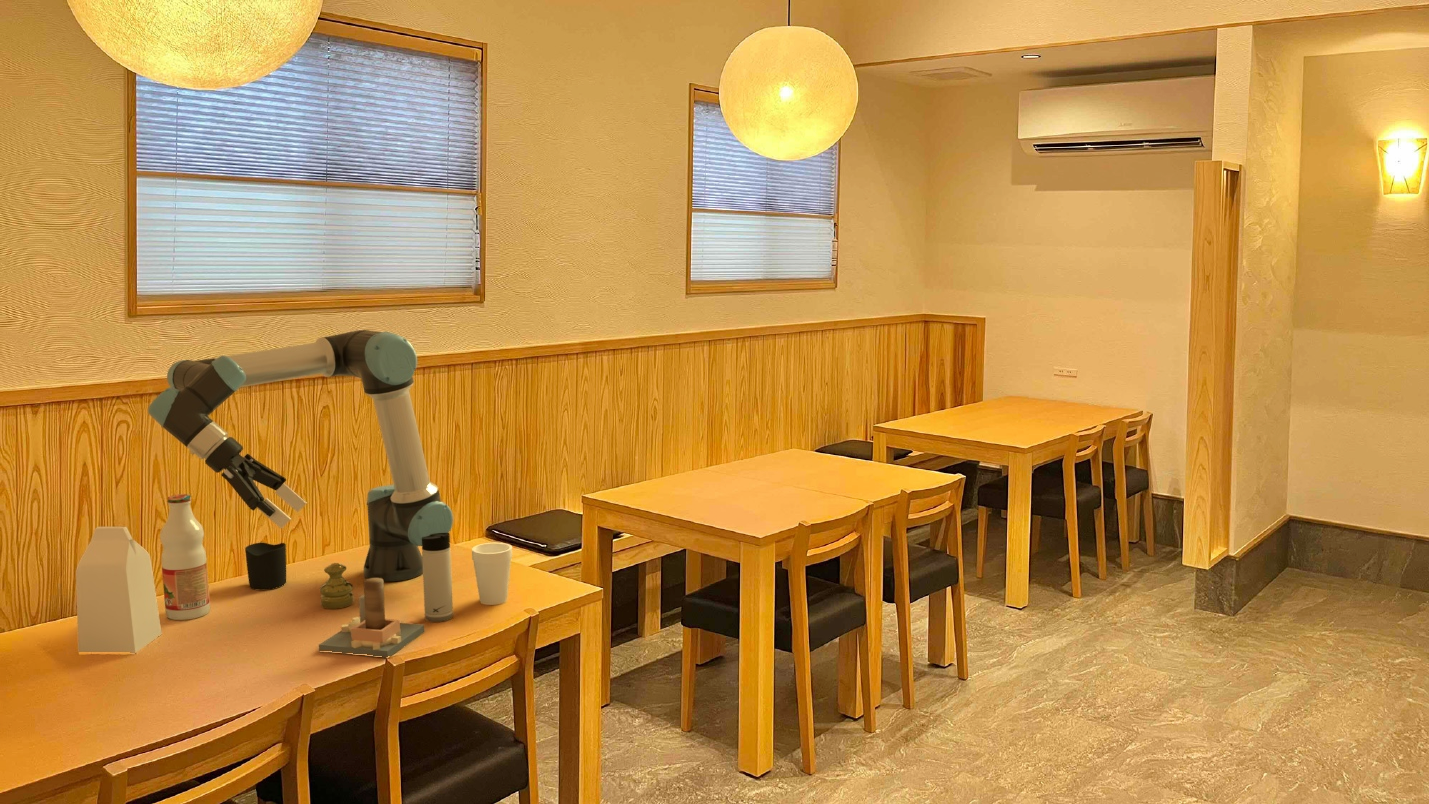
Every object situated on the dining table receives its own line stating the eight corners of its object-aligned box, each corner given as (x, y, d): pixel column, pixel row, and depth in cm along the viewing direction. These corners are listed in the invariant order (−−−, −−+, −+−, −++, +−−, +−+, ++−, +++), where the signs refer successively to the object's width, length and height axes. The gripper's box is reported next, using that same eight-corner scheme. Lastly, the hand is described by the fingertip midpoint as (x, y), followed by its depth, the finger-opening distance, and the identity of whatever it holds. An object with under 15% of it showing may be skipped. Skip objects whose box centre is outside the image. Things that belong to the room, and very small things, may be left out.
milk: (78, 654, 239) (67, 535, 235) (107, 635, 250) (96, 520, 246) (135, 654, 239) (125, 534, 235) (161, 635, 250) (152, 520, 246)
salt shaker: (359, 604, 270) (357, 563, 268) (330, 612, 265) (328, 570, 263) (343, 597, 275) (341, 557, 273) (315, 604, 270) (312, 564, 268)
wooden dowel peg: (372, 631, 244) (369, 577, 242) (389, 632, 243) (386, 578, 241) (362, 637, 240) (360, 583, 238) (379, 639, 239) (377, 584, 238)
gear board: (360, 625, 256) (358, 587, 254) (425, 631, 252) (423, 593, 251) (319, 652, 240) (316, 612, 239) (387, 658, 236) (385, 618, 235)
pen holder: (278, 577, 291) (275, 539, 289) (294, 585, 284) (292, 546, 283) (241, 585, 284) (238, 546, 283) (257, 593, 278) (254, 554, 276)
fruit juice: (199, 621, 259) (190, 501, 254) (158, 621, 259) (148, 501, 254) (217, 607, 268) (208, 491, 264) (177, 607, 268) (168, 491, 264)
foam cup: (518, 594, 276) (516, 543, 274) (507, 607, 267) (506, 554, 265) (480, 593, 277) (478, 542, 275) (468, 606, 268) (466, 553, 266)
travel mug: (440, 624, 256) (436, 538, 253) (419, 619, 260) (415, 534, 256) (459, 616, 261) (456, 532, 258) (439, 611, 265) (435, 528, 262)
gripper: (222, 449, 251) (297, 513, 255) (183, 473, 227) (266, 544, 231) (246, 425, 251) (320, 489, 255) (209, 447, 227) (291, 517, 231)
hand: (294, 515), depth 243 cm, fingers open, 13 cm apart
